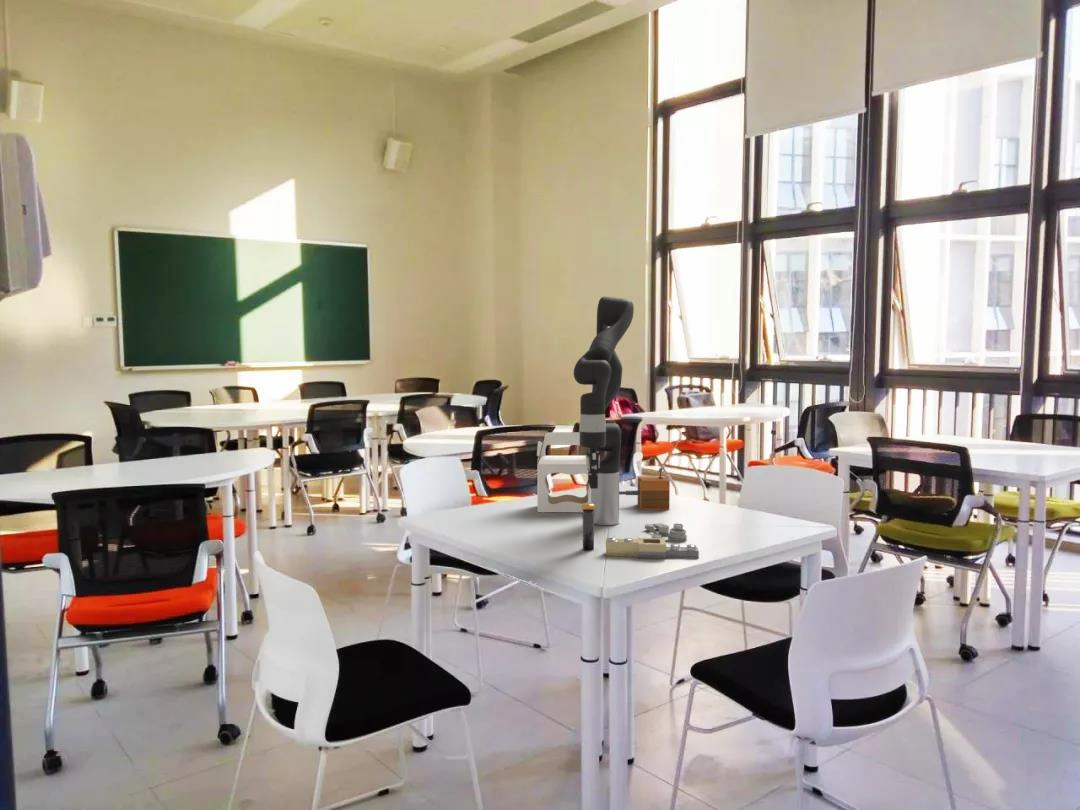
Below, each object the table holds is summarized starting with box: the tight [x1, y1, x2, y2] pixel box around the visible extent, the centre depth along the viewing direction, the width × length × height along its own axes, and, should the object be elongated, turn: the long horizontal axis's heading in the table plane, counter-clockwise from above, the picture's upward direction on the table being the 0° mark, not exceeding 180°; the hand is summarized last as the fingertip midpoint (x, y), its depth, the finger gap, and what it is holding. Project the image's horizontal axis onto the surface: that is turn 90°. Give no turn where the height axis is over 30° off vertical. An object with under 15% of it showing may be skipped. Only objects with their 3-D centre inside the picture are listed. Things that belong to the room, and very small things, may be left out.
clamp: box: [619, 468, 671, 511], centre depth 295 cm, size 11×20×14 cm, turn 91°
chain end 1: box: [605, 537, 667, 558], centre depth 227 cm, size 8×17×4 cm, turn 84°
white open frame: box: [536, 431, 599, 513], centre depth 291 cm, size 22×13×28 cm, turn 89°
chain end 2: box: [637, 543, 700, 560], centre depth 226 cm, size 8×17×3 cm, turn 84°
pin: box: [581, 503, 595, 552], centre depth 233 cm, size 4×4×13 cm
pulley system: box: [644, 522, 688, 543], centre depth 246 cm, size 27×5×15 cm
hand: (592, 486), depth 232 cm, fingers open, 8 cm apart
